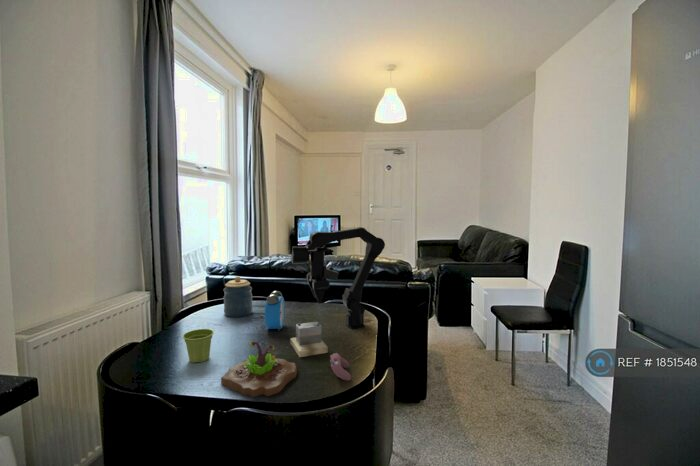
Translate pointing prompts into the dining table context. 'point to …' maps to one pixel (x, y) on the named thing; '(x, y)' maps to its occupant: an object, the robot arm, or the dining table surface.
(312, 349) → the beige tray
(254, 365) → the plant
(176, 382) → the dining table surface
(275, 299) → the alarm clock
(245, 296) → the canister
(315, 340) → the box
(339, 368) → the video game controller
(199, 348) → the plant pot
